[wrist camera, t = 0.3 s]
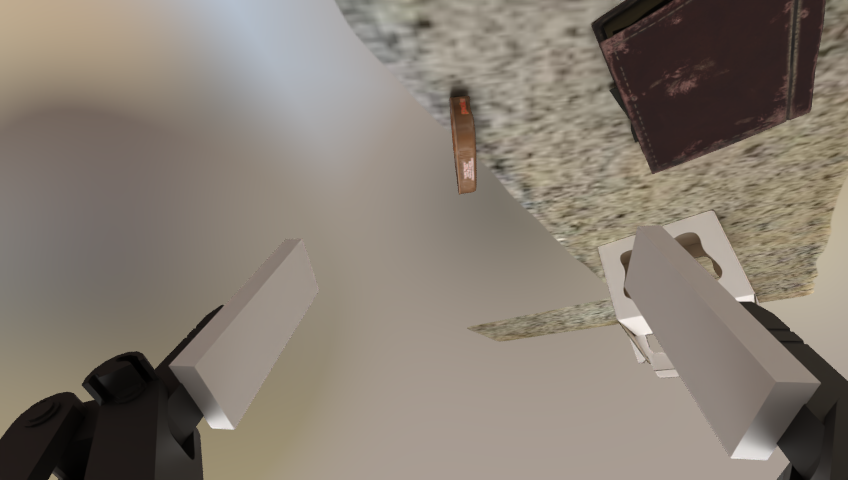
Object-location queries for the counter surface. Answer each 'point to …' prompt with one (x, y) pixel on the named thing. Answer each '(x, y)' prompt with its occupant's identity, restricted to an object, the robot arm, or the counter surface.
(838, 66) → the counter surface
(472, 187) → the tin
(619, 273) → the gable box
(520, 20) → the counter surface
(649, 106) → the diary
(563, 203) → the counter surface
